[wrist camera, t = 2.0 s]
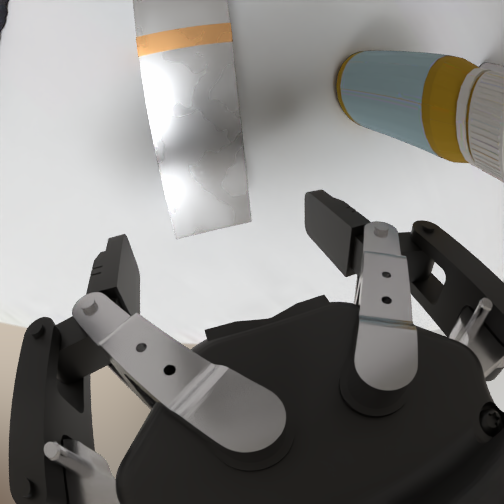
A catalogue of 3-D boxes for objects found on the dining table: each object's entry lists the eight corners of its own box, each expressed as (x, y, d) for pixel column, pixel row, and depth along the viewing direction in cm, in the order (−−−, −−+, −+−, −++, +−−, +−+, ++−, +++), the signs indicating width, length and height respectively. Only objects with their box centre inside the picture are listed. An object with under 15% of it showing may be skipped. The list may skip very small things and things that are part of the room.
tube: (135, -34, 11) (129, -63, 7) (206, -44, 12) (219, -74, 8) (172, 207, 22) (175, 239, 18) (234, 193, 23) (252, 221, 19)
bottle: (337, 131, 22) (488, 205, 10) (326, 52, 18) (499, 62, 6) (396, 121, 23) (532, 182, 11) (390, 52, 19) (541, 78, 7)
